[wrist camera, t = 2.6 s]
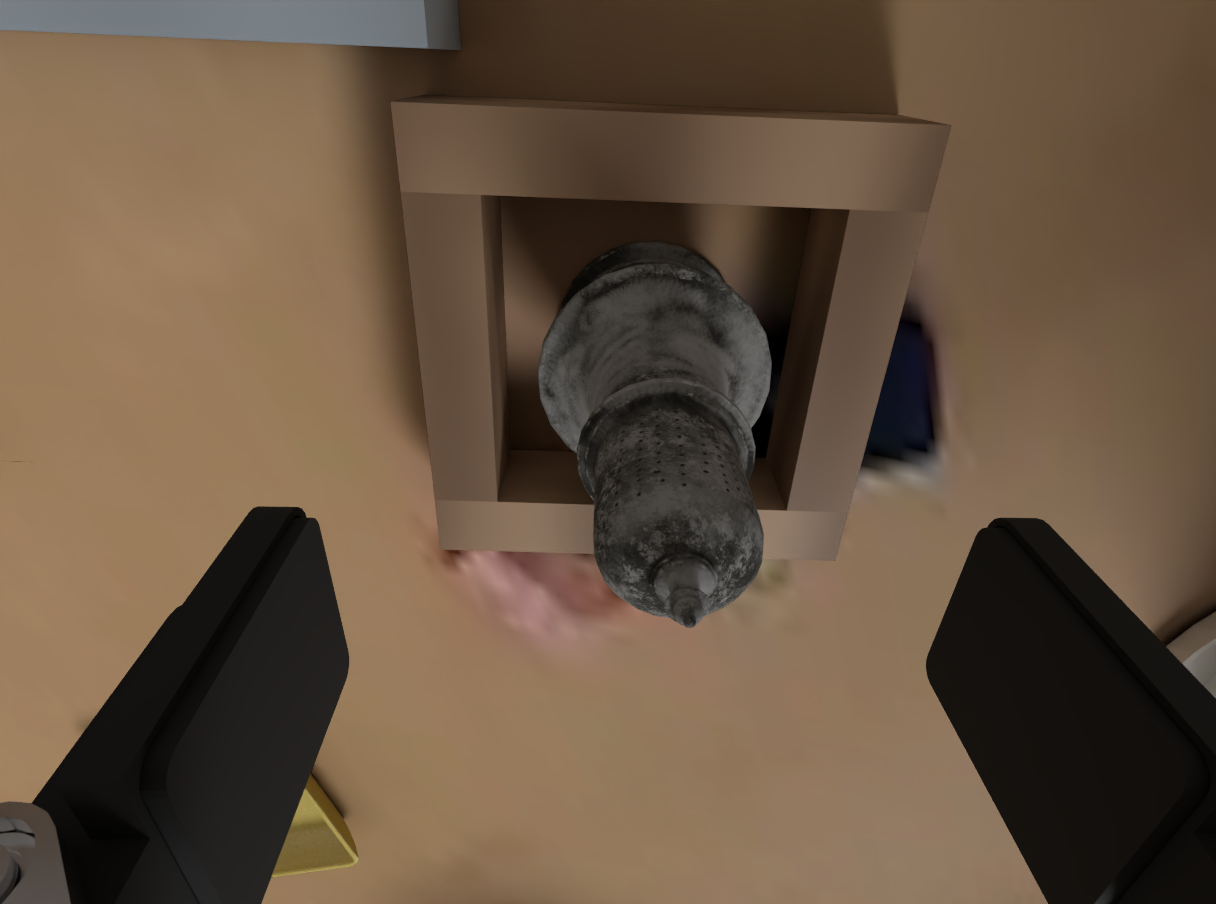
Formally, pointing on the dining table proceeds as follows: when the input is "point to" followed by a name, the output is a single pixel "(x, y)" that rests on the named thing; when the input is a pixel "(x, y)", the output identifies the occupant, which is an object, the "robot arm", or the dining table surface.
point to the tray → (249, 20)
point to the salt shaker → (662, 424)
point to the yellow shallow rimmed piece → (316, 837)
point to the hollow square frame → (657, 172)
